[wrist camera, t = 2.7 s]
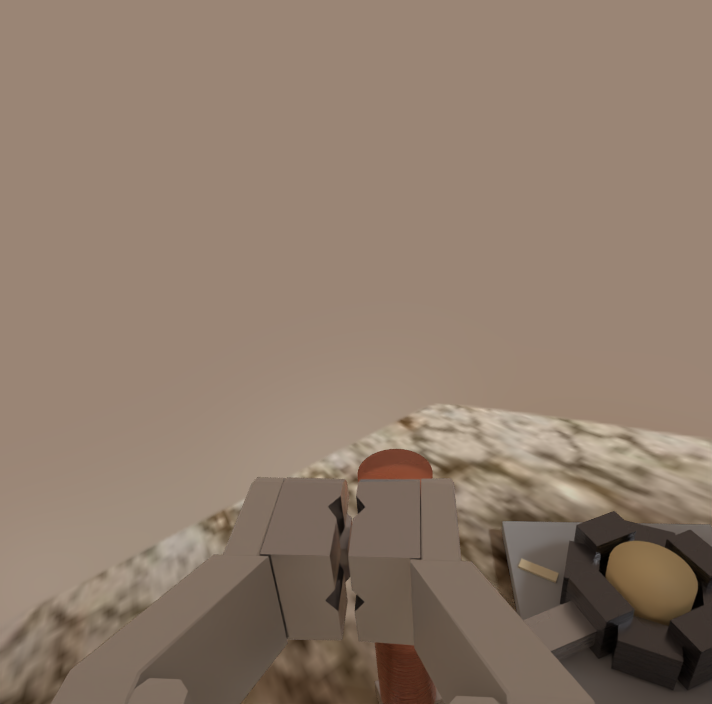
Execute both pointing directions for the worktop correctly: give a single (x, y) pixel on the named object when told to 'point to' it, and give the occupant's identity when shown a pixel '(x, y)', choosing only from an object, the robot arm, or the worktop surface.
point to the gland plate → (549, 597)
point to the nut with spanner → (578, 606)
